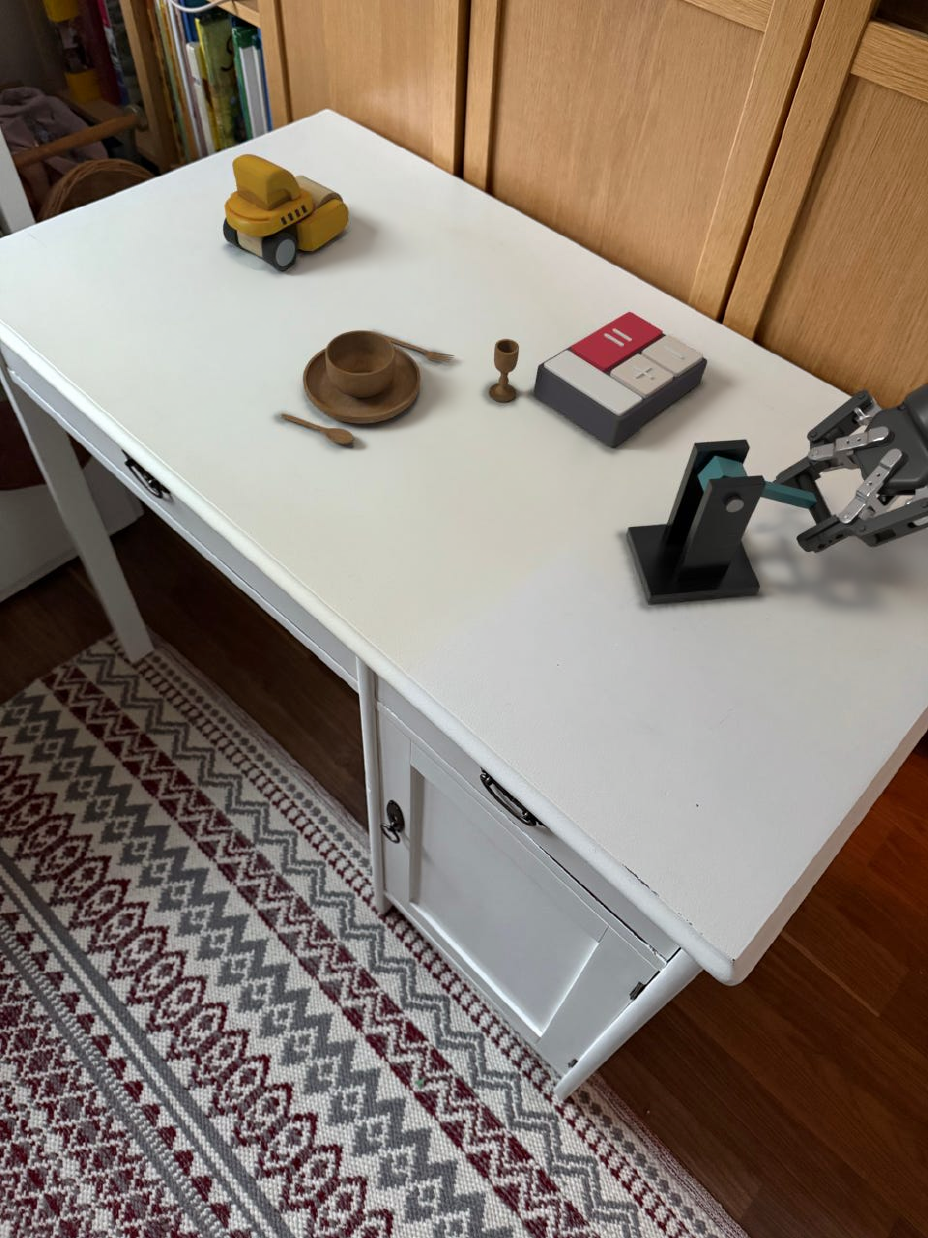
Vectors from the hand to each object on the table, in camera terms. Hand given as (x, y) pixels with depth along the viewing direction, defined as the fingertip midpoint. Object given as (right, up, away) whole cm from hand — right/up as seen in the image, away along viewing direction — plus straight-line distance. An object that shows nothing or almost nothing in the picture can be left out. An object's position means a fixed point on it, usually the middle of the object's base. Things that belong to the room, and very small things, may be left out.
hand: (789, 517), depth 78 cm
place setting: (-35, +13, +14) cm, 40 cm away
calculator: (-12, +15, +17) cm, 26 cm away
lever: (-4, +1, -3) cm, 4 cm away
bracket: (-8, -4, +4) cm, 9 cm away
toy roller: (-49, +36, +30) cm, 68 cm away
